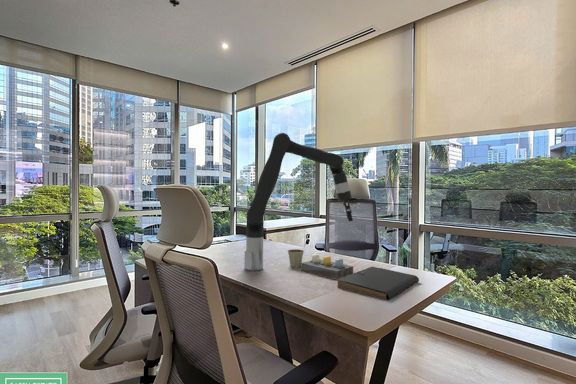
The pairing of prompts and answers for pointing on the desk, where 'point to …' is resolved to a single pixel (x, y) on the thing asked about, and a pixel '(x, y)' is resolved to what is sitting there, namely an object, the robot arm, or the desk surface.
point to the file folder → (378, 282)
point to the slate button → (339, 263)
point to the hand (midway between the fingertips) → (350, 219)
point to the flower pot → (295, 257)
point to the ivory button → (315, 258)
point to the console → (327, 269)
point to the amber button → (326, 260)
